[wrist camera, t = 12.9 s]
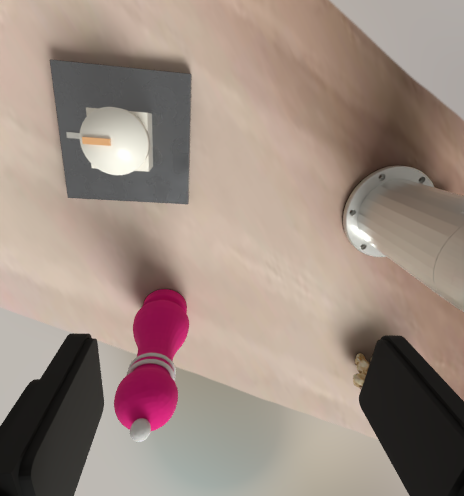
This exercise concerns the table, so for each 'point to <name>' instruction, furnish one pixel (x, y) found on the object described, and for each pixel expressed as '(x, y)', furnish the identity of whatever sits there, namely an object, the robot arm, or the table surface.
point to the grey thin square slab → (131, 99)
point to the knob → (117, 140)
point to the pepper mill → (153, 365)
